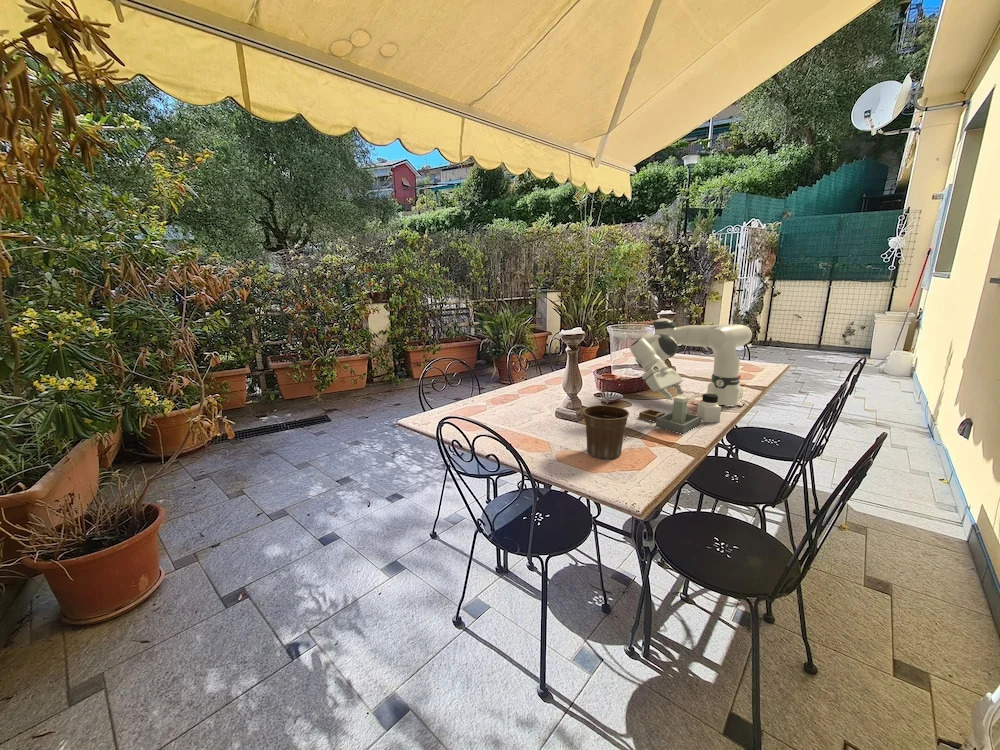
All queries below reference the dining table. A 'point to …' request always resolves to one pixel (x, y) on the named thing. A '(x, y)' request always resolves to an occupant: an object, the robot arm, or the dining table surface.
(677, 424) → the tray
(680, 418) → the green rectangular block
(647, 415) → the tray
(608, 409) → the plant pot
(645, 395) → the dining table surface
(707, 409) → the medicine bottle
